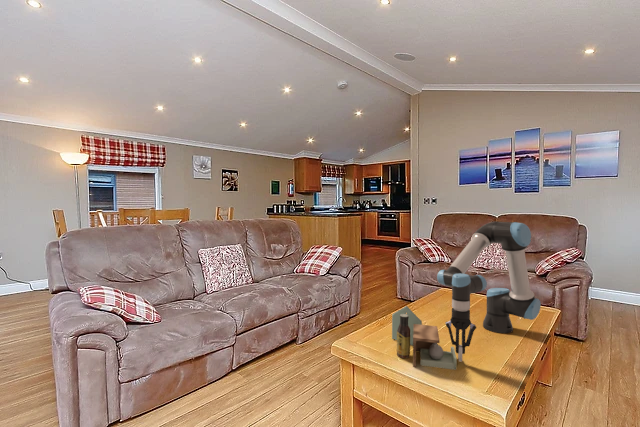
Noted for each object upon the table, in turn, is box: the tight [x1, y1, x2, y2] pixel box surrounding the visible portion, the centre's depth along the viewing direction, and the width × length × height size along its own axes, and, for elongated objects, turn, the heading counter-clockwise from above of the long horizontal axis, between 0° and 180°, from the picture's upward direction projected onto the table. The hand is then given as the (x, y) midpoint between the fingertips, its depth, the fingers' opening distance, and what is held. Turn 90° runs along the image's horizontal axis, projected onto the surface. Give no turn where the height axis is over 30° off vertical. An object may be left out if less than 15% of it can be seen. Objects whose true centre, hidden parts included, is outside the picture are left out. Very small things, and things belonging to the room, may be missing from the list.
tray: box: [419, 346, 458, 371], centre depth 152 cm, size 15×12×5 cm
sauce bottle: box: [396, 313, 411, 359], centre depth 157 cm, size 7×6×20 cm
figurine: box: [429, 343, 444, 360], centre depth 152 cm, size 7×7×8 cm
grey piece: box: [391, 305, 423, 347], centre depth 173 cm, size 16×8×20 cm, turn 50°
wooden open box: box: [412, 324, 441, 368], centre depth 153 cm, size 11×17×13 cm, turn 164°
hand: (460, 360), depth 149 cm, fingers closed
